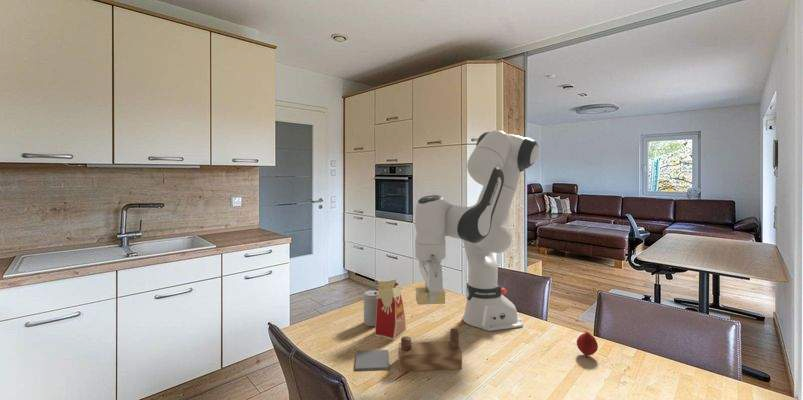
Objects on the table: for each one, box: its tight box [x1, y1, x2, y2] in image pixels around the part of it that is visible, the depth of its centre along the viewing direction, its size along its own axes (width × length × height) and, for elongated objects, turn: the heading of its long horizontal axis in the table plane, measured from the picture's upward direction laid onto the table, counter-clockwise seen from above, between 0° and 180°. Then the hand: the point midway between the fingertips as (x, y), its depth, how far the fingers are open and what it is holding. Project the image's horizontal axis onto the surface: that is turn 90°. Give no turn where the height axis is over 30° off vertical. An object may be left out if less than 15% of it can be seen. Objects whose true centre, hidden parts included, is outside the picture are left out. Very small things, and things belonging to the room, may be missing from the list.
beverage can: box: [363, 290, 378, 328], centre depth 134 cm, size 6×6×12 cm
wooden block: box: [415, 286, 446, 306], centre depth 105 cm, size 8×4×4 cm, turn 94°
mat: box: [354, 349, 391, 371], centre depth 108 cm, size 10×10×1 cm
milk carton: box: [374, 278, 407, 342], centre depth 126 cm, size 9×9×20 cm
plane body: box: [398, 328, 463, 372], centre depth 106 cm, size 18×7×10 cm, turn 95°
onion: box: [576, 330, 599, 357], centre depth 111 cm, size 6×6×8 cm
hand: (430, 297), depth 105 cm, fingers closed on wooden block, 4 cm apart
